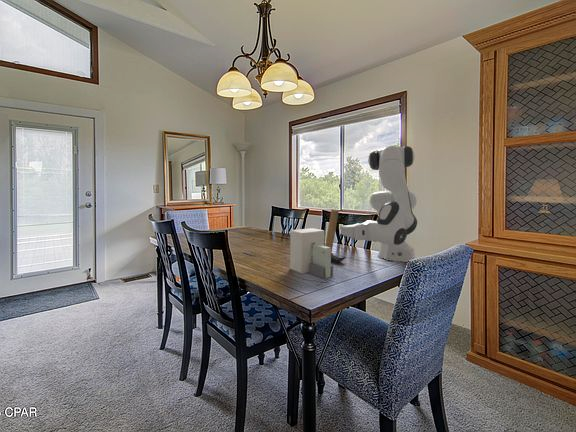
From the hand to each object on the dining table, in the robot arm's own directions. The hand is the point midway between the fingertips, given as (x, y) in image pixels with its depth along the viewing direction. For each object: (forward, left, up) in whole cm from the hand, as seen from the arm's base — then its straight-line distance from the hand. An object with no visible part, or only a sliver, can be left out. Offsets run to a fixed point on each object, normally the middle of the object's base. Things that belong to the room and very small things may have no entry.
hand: (348, 226), depth 148 cm
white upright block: (+11, +7, -24) cm, 27 cm away
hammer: (+18, -20, -24) cm, 36 cm away
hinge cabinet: (+16, +4, -24) cm, 29 cm away
